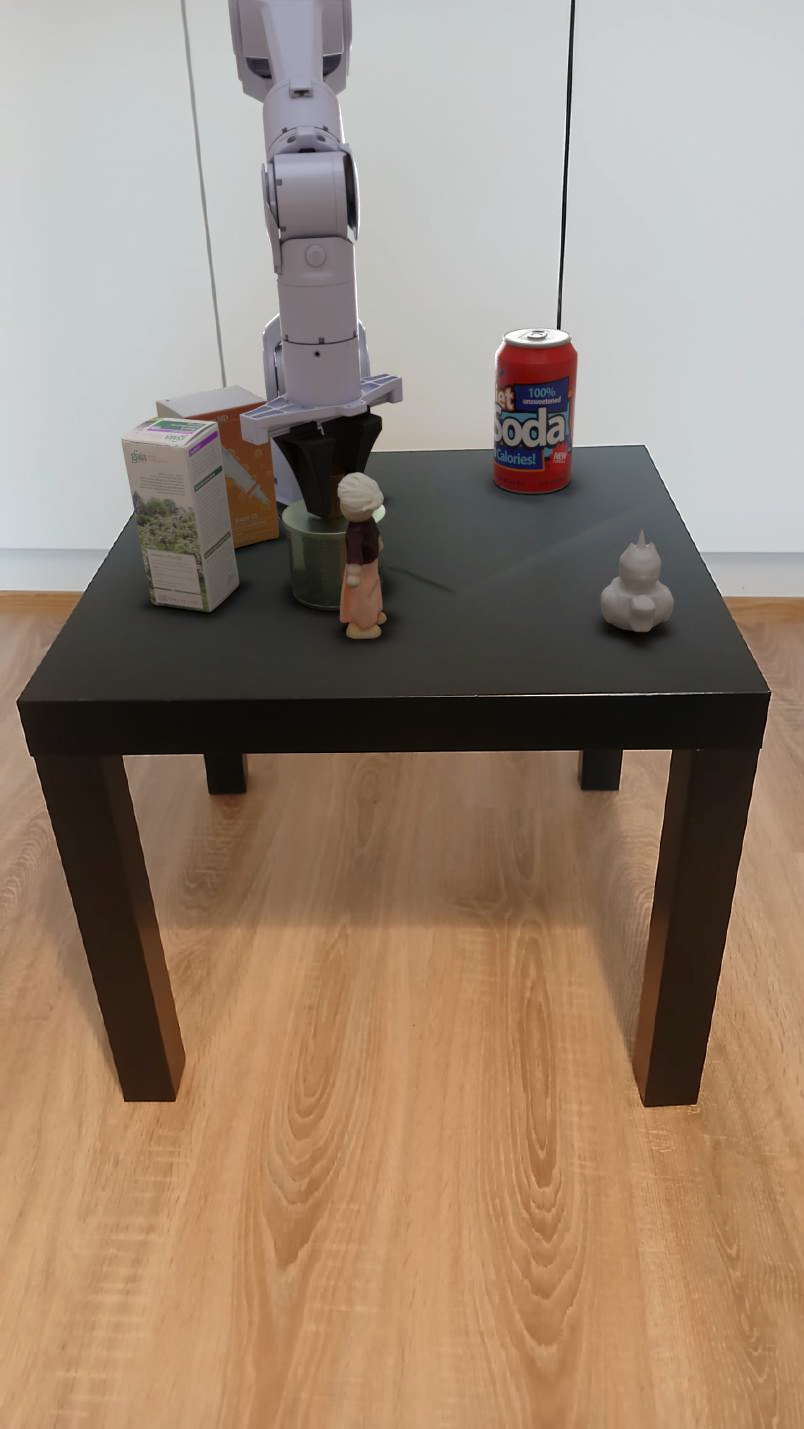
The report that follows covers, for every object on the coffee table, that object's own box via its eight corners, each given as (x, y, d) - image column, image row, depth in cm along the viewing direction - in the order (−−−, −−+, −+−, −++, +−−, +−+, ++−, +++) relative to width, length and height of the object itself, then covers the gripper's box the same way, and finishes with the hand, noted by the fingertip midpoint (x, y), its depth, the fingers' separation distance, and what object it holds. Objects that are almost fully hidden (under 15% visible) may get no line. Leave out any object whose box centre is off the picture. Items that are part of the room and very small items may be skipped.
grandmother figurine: (344, 606, 87) (334, 457, 80) (391, 606, 87) (385, 456, 80) (336, 653, 80) (325, 495, 73) (386, 653, 80) (380, 494, 73)
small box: (202, 559, 95) (182, 417, 88) (174, 537, 100) (153, 399, 93) (282, 537, 99) (268, 398, 92) (251, 516, 103) (236, 382, 96)
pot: (274, 590, 90) (267, 520, 86) (342, 563, 94) (338, 494, 90) (332, 620, 85) (326, 546, 81) (401, 589, 89) (398, 518, 86)
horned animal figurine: (661, 609, 85) (672, 515, 80) (677, 650, 79) (690, 552, 75) (593, 610, 85) (601, 517, 81) (605, 651, 79) (613, 553, 75)
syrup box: (242, 584, 91) (221, 417, 83) (209, 616, 86) (184, 442, 78) (183, 577, 92) (157, 412, 84) (148, 607, 88) (117, 436, 80)
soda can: (573, 474, 110) (582, 325, 102) (566, 503, 104) (575, 346, 96) (499, 471, 112) (502, 324, 104) (487, 498, 106) (489, 344, 97)
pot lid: (270, 516, 88) (264, 463, 85) (363, 499, 91) (360, 446, 88) (302, 554, 81) (297, 497, 79) (402, 534, 84) (400, 479, 82)
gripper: (274, 364, 71) (292, 550, 79) (428, 325, 79) (430, 496, 87) (215, 347, 76) (236, 524, 83) (366, 311, 84) (373, 475, 91)
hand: (332, 508), depth 85 cm, fingers closed on pot lid, 2 cm apart
